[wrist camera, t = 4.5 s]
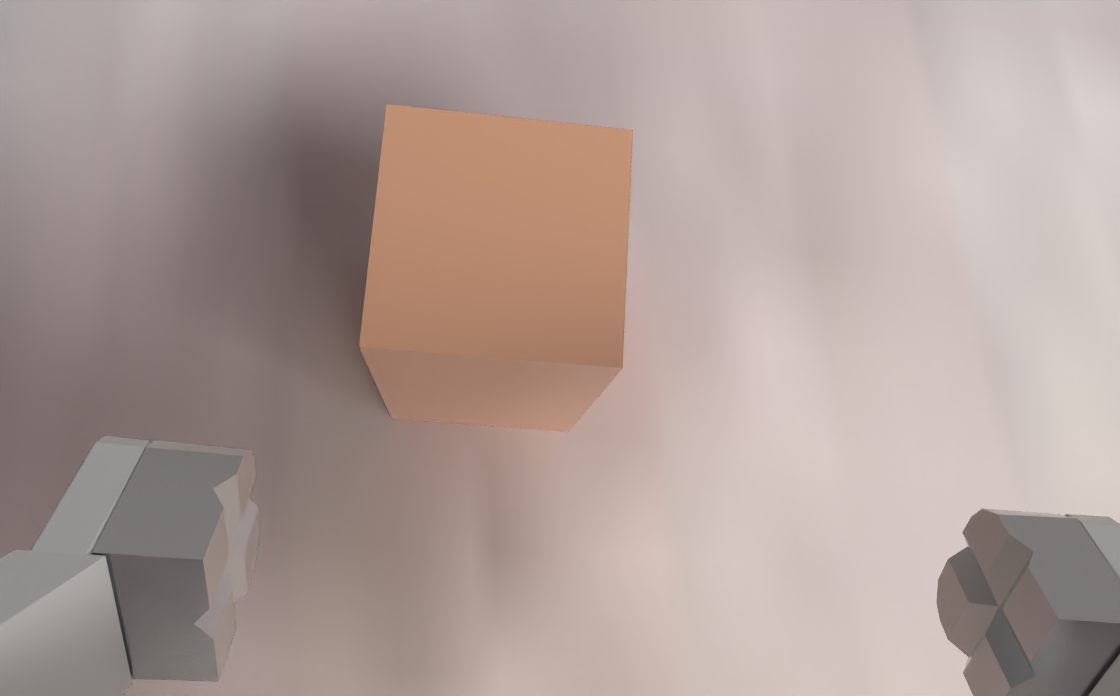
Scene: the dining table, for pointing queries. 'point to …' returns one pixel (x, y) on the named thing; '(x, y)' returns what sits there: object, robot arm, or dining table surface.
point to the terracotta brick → (496, 268)
